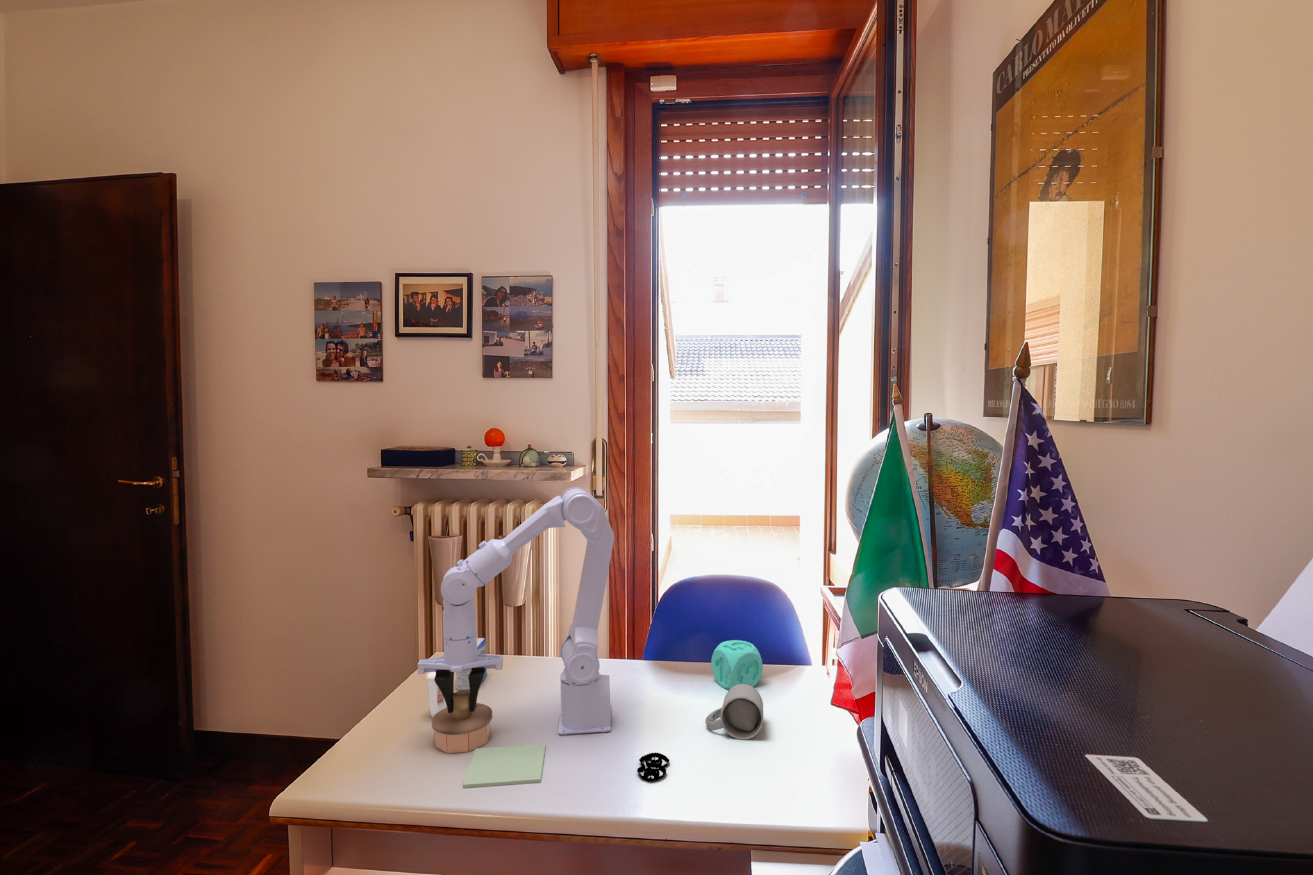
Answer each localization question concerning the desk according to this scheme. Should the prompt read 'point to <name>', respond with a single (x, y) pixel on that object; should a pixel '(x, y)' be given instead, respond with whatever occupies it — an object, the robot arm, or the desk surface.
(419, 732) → the desk surface
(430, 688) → the milkshake
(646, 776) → the black flat openwork piece
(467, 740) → the terracotta bowl
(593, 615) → the robot arm
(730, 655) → the decorative dice
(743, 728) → the ceramic mug
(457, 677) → the medicine box
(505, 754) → the green mat
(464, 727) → the walnut lid
